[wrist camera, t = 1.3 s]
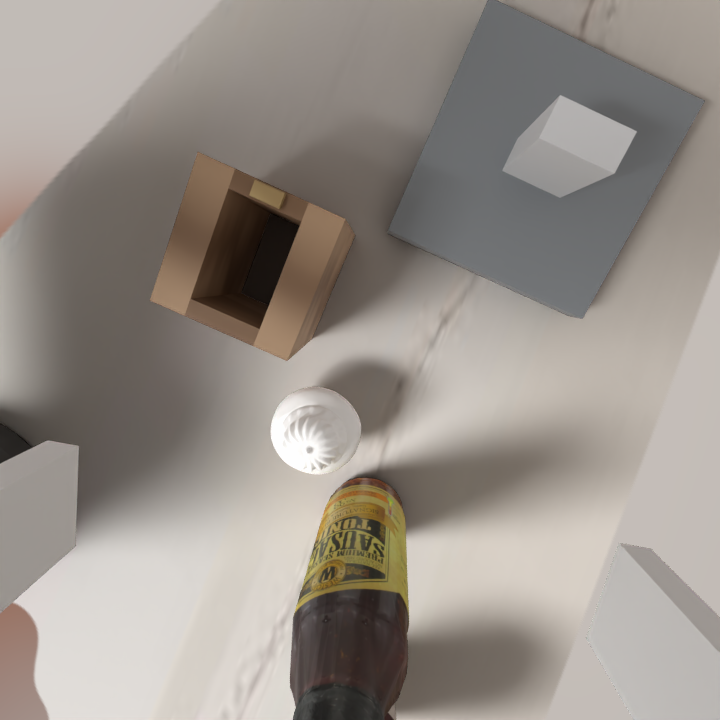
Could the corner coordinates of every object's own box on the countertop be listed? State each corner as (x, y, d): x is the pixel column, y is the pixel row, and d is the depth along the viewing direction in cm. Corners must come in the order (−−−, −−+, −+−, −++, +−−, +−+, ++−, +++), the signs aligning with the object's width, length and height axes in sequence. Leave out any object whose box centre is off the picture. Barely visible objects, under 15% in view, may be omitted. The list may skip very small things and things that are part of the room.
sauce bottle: (386, 461, 31) (394, 757, 12) (415, 528, 32) (467, 903, 13) (309, 489, 32) (201, 811, 13) (341, 554, 33) (285, 943, 14)
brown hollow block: (311, 339, 30) (285, 362, 22) (211, 294, 30) (146, 300, 21) (355, 235, 28) (344, 218, 20) (249, 186, 28) (195, 149, 20)
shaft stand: (387, 233, 28) (389, 216, 20) (481, 18, 25) (525, -98, 17) (568, 315, 29) (639, 330, 21) (680, 114, 26) (811, 42, 18)
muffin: (352, 366, 30) (343, 392, 23) (372, 442, 31) (369, 488, 24) (273, 385, 31) (242, 416, 24) (295, 459, 32) (272, 508, 25)
